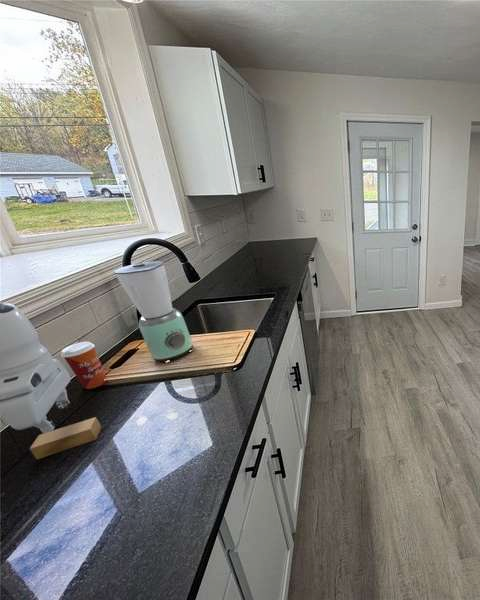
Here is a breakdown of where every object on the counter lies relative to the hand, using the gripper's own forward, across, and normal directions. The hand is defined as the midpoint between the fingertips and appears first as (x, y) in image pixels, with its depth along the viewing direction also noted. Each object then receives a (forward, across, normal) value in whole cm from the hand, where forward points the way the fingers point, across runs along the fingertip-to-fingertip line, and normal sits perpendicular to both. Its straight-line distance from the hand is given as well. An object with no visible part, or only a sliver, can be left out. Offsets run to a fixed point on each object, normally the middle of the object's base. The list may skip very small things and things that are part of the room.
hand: (57, 417), depth 76 cm
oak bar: (+8, 0, 0) cm, 8 cm away
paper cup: (+8, -30, -2) cm, 31 cm away
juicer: (+8, -37, +19) cm, 42 cm away
